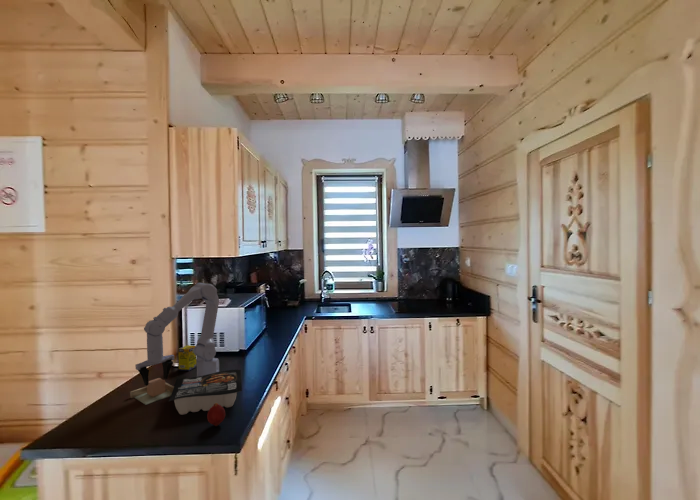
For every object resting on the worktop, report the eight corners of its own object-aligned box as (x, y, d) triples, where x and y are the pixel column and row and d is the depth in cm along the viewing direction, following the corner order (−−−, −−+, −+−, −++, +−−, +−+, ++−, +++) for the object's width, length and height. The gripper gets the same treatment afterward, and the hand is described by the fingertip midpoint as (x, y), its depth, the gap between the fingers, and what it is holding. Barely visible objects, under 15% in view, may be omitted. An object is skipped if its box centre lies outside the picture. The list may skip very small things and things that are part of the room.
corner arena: (163, 386, 150) (162, 380, 150) (178, 394, 142) (177, 388, 142) (130, 397, 139) (129, 391, 139) (144, 406, 131) (144, 400, 131)
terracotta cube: (159, 389, 146) (159, 377, 146) (165, 392, 143) (165, 380, 143) (147, 393, 142) (146, 381, 142) (152, 396, 139) (152, 384, 139)
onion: (210, 421, 120) (210, 399, 120) (227, 420, 120) (227, 398, 120) (205, 430, 114) (204, 407, 114) (222, 429, 114) (222, 406, 114)
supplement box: (189, 371, 167) (188, 349, 167) (178, 370, 168) (177, 348, 168) (196, 367, 173) (196, 345, 173) (186, 366, 174) (185, 345, 174)
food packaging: (240, 368, 151) (241, 389, 129) (240, 385, 151) (242, 408, 129) (177, 376, 143) (167, 399, 121) (178, 394, 143) (168, 420, 121)
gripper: (168, 343, 150) (169, 373, 151) (131, 352, 139) (132, 385, 139) (176, 346, 146) (177, 377, 147) (139, 355, 134) (140, 389, 135)
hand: (156, 381), depth 143 cm, fingers open, 7 cm apart
